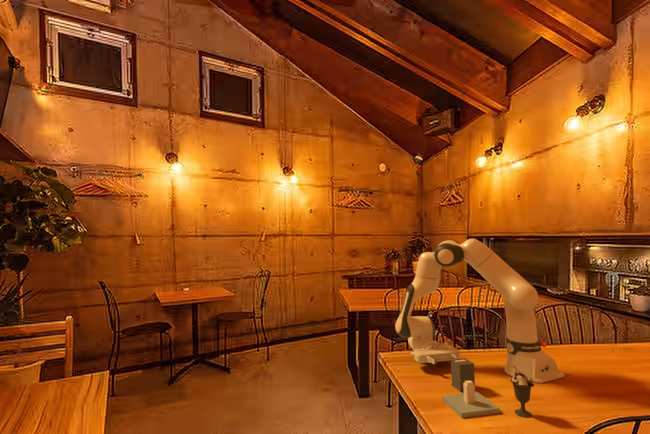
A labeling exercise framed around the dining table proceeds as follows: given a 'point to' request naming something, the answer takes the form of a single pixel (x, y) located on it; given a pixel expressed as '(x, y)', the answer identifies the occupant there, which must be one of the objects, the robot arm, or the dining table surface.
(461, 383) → the slotted ballot box
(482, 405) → the post
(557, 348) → the dining table surface
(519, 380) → the sundae
